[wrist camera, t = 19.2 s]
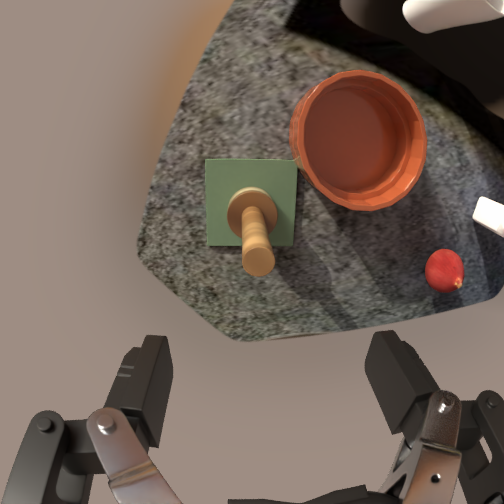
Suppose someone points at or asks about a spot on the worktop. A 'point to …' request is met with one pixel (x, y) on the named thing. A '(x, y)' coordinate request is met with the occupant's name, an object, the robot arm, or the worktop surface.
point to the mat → (249, 175)
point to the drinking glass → (450, 13)
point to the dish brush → (254, 228)
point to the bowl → (359, 140)
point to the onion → (444, 271)
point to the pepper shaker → (490, 215)
